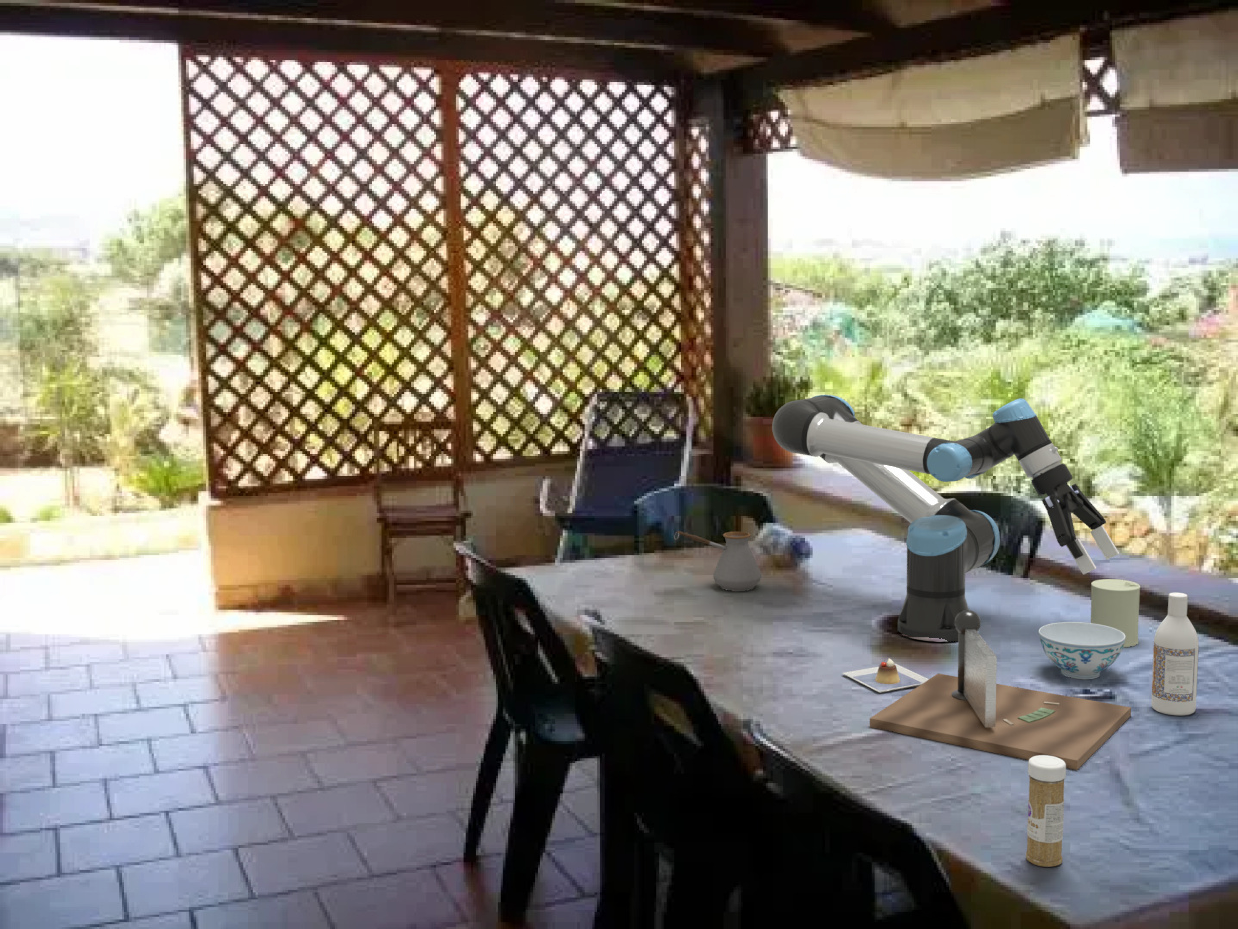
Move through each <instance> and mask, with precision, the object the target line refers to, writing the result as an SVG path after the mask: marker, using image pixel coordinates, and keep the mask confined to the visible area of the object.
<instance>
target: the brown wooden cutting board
mask: <svg viewBox="0 0 1238 929" xmlns="http://www.w3.org/2000/svg"><path fill="white" fill-rule="evenodd" d="M928 679H929V680H927V681H926V682H924V683H923V684H921V685H920V686H916V687H914V689H912V690H910V691H909V692H908V693H906V694H904V695H902V696H901V697H899V698H898V699H897V700H895V701H894V702H892V703H891V704H889V705H888V706H886V707H885V708H883V709H882V710H880V711H879V712H877V713H875V714H873V715H872V716H871V717H870V718H869V728H872V729H877V730H883V731H887V730H889V731H888V732H892V731H893V733H897V734H902V735H906V736H912V737H916V738H921V739H925V740H926V739H927V740H931V741H935V742H941V743H945V744H950V745H955V746H961V747H965V748H969V749H974V750H979V751H984V752H988V753H994V754H998V755H1003V756H1007V757H1012V758H1016V759H1017V758H1018V759H1021V760H1027V761H1029V759H1030V758H1032V757H1034V756H1038V755H1048V756H1054V757H1057V758H1060V759H1062V760H1063V761H1064V762H1065V764H1066V769H1068V770H1069V769H1070V770H1074V771H1075V770H1076V771H1078V770H1079V768H1081V767H1082V766H1083V765H1084V764H1085V763H1086V761H1088V760H1089V759H1090V757H1092V756H1093V755H1094V754H1095V753H1096V752H1097V751H1098V750H1099V749H1100V748H1101V747H1102V745H1104V743H1106V742H1107V741H1108V739H1110V738H1111V736H1113V735H1114V734H1115V733H1116V731H1118V730H1119V729H1120V728H1121V727H1122V725H1124V724H1125V723H1126V722H1127V720H1129V719H1130V718H1131V716H1132V707H1131V706H1125V705H1118V704H1114V703H1108V702H1101V701H1097V700H1091V699H1085V698H1078V697H1073V696H1068V695H1063V694H1057V693H1051V692H1045V691H1041V690H1035V689H1028V688H1024V687H1017V686H1011V685H1006V684H1000V683H996V719H995V727H985V726H984V725H983V723H982V722H981V720H980V719H979V717H978V715H977V714H976V712H975V711H974V709H973V708H972V706H971V705H970V703H969V702H968V700H967V699H966V697H965V696H964V694H962V693H959V692H958V676H955V675H950V674H943V673H936V674H935V675H933V676H932V677H930V678H928Z"/></svg>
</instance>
